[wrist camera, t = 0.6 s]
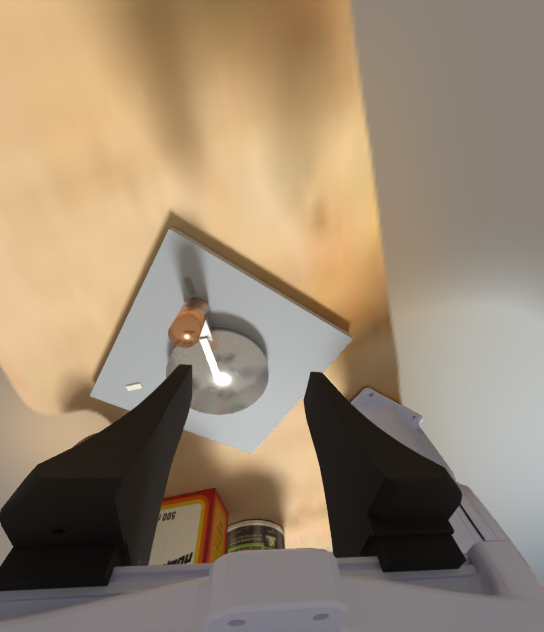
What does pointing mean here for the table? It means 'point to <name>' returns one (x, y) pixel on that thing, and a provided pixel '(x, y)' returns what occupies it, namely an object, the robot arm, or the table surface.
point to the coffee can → (254, 536)
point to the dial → (217, 361)
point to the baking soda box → (190, 529)
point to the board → (224, 311)
